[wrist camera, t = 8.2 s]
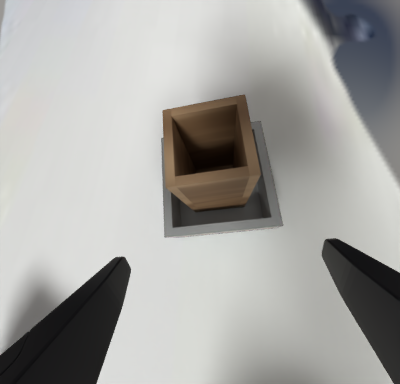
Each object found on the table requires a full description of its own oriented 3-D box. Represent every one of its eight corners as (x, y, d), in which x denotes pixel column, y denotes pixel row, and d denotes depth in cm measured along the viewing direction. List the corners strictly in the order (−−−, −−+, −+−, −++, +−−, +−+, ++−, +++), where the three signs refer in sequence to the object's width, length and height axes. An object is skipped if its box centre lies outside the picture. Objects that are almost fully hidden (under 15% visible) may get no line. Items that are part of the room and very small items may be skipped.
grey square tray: (272, 228, 19) (283, 225, 15) (176, 237, 20) (164, 237, 16) (254, 141, 22) (260, 120, 18) (172, 154, 23) (161, 138, 19)
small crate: (244, 206, 19) (260, 174, 10) (195, 212, 20) (165, 187, 10) (237, 161, 21) (244, 94, 11) (191, 167, 21) (162, 110, 12)
